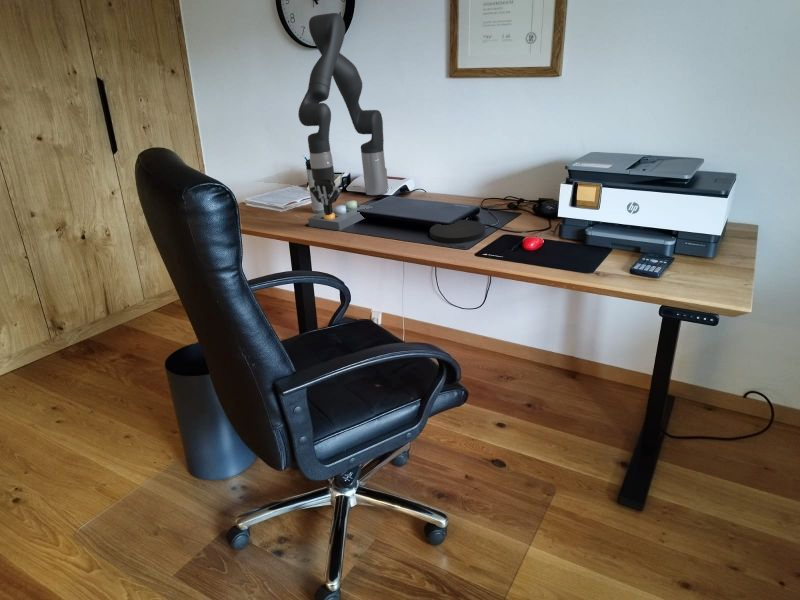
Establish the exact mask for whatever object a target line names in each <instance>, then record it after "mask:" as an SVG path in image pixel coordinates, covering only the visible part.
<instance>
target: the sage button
mask: <svg viewBox="0 0 800 600" xmlns="http://www.w3.org/2000/svg"><path fill="white" fill-rule="evenodd" d="M345 203H346V209H351V210H353V209H356V208H357V205H358V203H357V200H354V199H353V200H347V201H345Z"/></svg>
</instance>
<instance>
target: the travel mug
mask: <svg viewBox="0 0 800 600" xmlns="http://www.w3.org/2000/svg"><path fill="white" fill-rule="evenodd" d="M305 167H306V175H307V181H308V182H307V183H308V189H309V196H310V201H311V208H312V212H313V213H314V214H319V213H321V212H324V207H323V204H322V203H321V202H318V201H317V200H316V198H315V197H314V195H313V194H312V192H311V191H310V188H312V187H313V186H314V180H313V177H312V171H311V164H310V158H309V159H307V160H305ZM318 197H319V196H318ZM319 198H320V197H319ZM324 199H325V198H324Z"/></svg>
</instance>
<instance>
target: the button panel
mask: <svg viewBox="0 0 800 600" xmlns="http://www.w3.org/2000/svg"><path fill="white" fill-rule="evenodd" d="M339 205H345V206H346V202H342V203H340V204H338V205H335V206H332V209H333V213H335V207H336V206H339ZM373 207H374V206H372V205H364V204H363V205H362V204H357V208H356V209H353V210H351V209H346V213H345V214H343V215H339V214H335V218H334V219H332V220H325V219H324V217H323V214H325V213H324V212H321V213H316V214H315V215H313V216H309V217H308V218H307V220H308V227H311V228H317V229H326V230H330V231H331V230H332V231H338V232H339V231H342V230H344V229H347V228H348V227H350V226H352V225H354V224H356V223H358V222H360V221H362V220H364V219H365V218H364V217H363V216H362V215H361V214H360V212H357V210H359V209H365V208H366V209H369V208H373ZM373 209H374V208H373Z"/></svg>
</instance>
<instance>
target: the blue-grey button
mask: <svg viewBox="0 0 800 600" xmlns="http://www.w3.org/2000/svg"><path fill="white" fill-rule="evenodd" d="M338 205H339V206H337V205H335V206H336V207H335V206H334V207H335V214H339V215H343V214H345V213H346V206H345V205H340V204H338Z"/></svg>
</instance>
